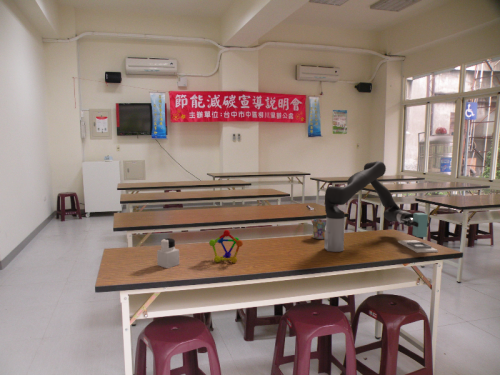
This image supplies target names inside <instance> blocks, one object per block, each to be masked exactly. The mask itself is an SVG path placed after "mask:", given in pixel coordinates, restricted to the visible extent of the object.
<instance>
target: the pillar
mask: <svg viewBox="0 0 500 375" xmlns="http://www.w3.org/2000/svg"><path fill="white" fill-rule="evenodd" d="M412 214H413V221H414V222H417V223H418V227H415V226H412V233H411V234H412V236H414V237H416V238H427V237H428V236H427V235H428V227H427V222H428V223H429V220H428V217H429V214H427V213H424V212H414V213H412Z"/></svg>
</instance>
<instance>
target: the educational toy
mask: <svg viewBox="0 0 500 375" xmlns="http://www.w3.org/2000/svg"><path fill="white" fill-rule="evenodd" d="M226 237H229V238H230V239H228V238H226ZM224 238H225V239H224ZM224 242H230V243H231V242H233V243H232V244H231V246H230V248H229V250H227V248H226V246H225V244H224ZM217 243H218V244H220V245H221V247H222V248H223V251H224V255H221V256H220V255H218V253H217V249H216V244H217ZM208 244H209V245H210V247H212V250H213V253H214V255H215V256H214V258H213V261H214V262H215V263H220V262H221V261H231V263H232V264H236V263H237V262H238V258H237V255H238V252H239V250H240V248H241V247H242V246H243V244H244V243H243V240H241V239H239V237H235V236H232V234H231V232H230V230H229V229H224V231H223V234H221V235H219V237H216V238H215V239H213V238H211V239H210V240H209V241H208ZM235 246H236V250H235V252H234V254H233V256H232V253H231V252H232V251H233V249H234V247H235Z"/></svg>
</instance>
